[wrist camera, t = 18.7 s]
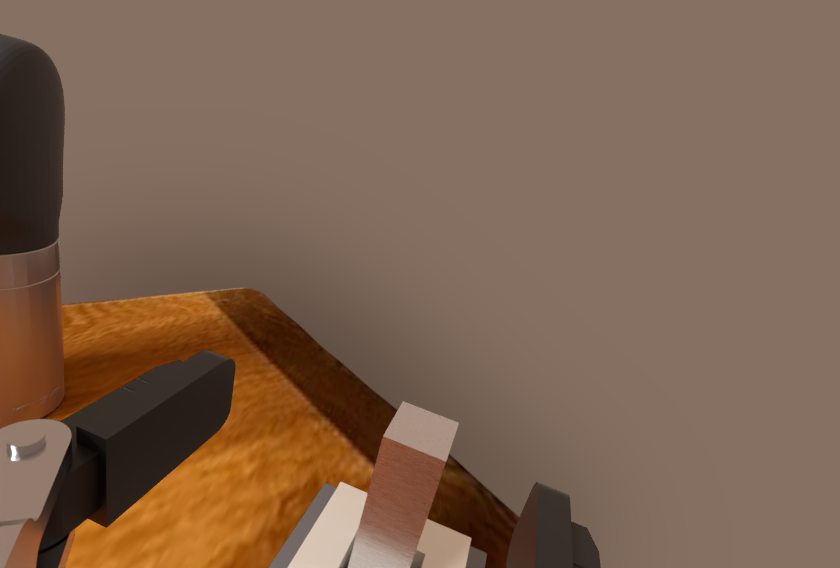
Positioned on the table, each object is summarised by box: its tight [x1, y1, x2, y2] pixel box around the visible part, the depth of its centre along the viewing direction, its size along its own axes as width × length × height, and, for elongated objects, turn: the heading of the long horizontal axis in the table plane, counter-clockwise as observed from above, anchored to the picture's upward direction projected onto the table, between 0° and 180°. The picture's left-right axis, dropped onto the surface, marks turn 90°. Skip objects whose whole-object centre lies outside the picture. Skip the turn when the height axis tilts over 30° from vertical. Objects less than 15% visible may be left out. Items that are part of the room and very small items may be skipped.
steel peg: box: [348, 401, 459, 568], centre depth 32 cm, size 4×4×16 cm
